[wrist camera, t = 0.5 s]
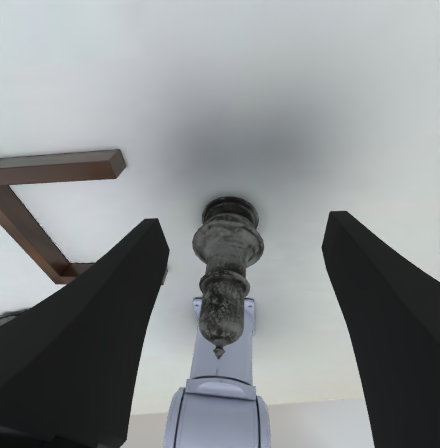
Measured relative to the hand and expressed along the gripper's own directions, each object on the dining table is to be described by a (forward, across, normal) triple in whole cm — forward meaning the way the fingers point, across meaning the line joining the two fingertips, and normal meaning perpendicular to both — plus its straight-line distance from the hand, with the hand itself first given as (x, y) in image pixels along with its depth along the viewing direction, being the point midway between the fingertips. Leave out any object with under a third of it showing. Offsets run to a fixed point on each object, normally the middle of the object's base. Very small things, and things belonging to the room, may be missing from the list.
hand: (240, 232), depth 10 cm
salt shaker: (+10, +2, +7) cm, 12 cm away
